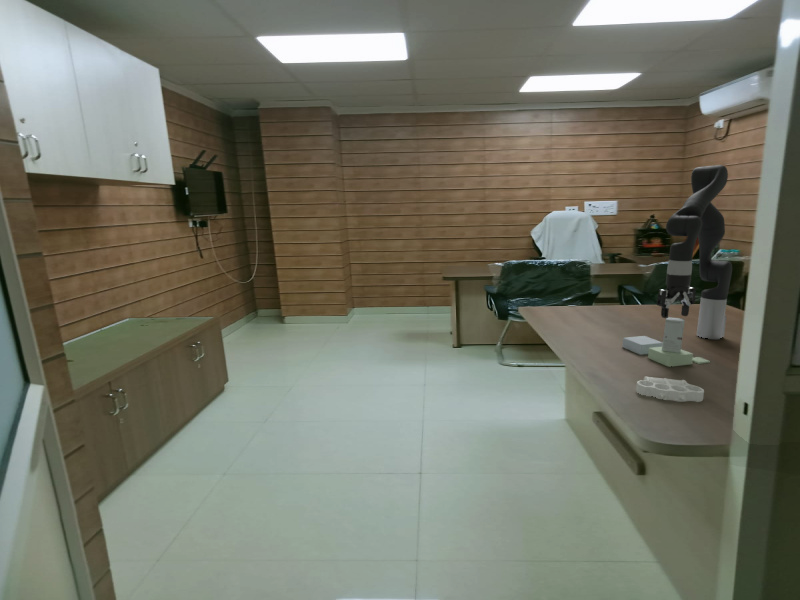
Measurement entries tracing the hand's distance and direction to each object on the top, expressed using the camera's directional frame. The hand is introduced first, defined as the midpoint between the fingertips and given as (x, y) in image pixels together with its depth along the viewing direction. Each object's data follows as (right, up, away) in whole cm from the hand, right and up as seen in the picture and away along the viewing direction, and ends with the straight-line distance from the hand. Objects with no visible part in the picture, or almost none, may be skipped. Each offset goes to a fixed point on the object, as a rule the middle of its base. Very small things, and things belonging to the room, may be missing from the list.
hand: (674, 316), depth 168 cm
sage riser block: (0, -17, +3) cm, 17 cm away
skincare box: (+1, -13, +3) cm, 13 cm away
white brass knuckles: (-17, -23, -24) cm, 38 cm away
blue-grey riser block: (-3, -14, +17) cm, 22 cm away
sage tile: (+11, -17, +3) cm, 20 cm away
